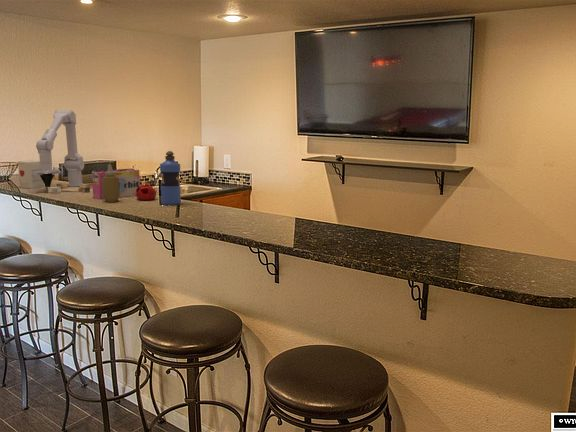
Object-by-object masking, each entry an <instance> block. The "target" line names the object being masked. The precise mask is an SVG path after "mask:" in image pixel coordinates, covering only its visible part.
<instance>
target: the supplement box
mask: <svg viewBox="0 0 576 432" xmlns="http://www.w3.org/2000/svg"><path fill="white" fill-rule="evenodd" d="M17 168H18V180H19V188H21V189H31V190H33V189H38V188H39V189H40V188H44V187H45V184H44V182H43V180H42V178H41V177H40V175H37V176H34V175H33V172H35V171H41V169H40V160H33V159H32V160H30V159H29V160H18V161H17Z"/></svg>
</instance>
